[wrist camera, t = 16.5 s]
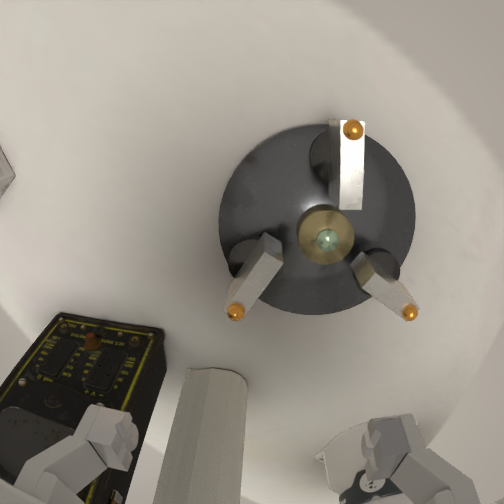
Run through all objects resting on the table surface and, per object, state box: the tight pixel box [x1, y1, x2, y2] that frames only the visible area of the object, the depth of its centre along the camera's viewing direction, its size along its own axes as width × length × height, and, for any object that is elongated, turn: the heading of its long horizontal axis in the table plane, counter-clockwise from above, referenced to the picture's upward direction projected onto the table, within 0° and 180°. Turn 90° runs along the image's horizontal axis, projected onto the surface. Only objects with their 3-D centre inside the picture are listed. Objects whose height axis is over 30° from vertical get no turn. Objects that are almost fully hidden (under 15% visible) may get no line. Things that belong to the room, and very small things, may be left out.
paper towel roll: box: [153, 368, 248, 504], centre depth 28 cm, size 7×6×21 cm
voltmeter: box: [0, 313, 167, 504], centre depth 24 cm, size 16×9×25 cm, turn 87°
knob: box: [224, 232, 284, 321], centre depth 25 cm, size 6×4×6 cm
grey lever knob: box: [309, 119, 366, 210], centre depth 21 cm, size 6×4×6 cm
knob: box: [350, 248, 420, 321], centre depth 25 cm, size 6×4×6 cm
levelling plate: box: [219, 124, 416, 315], centre depth 26 cm, size 18×18×4 cm
